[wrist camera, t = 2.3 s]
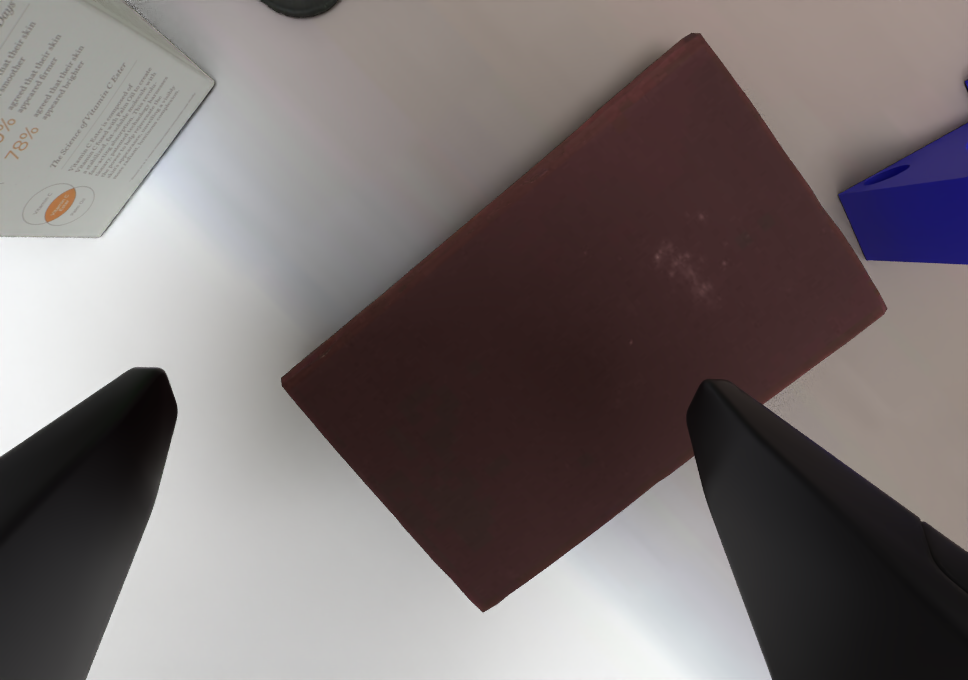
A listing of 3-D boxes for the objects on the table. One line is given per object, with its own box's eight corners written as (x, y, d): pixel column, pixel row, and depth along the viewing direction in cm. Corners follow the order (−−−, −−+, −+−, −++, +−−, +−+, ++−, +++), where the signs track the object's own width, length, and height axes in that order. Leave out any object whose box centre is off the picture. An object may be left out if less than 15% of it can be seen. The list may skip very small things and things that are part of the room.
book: (297, 364, 23) (268, 384, 20) (670, 51, 21) (705, 16, 18) (486, 572, 25) (487, 621, 21) (845, 303, 23) (906, 314, 19)
